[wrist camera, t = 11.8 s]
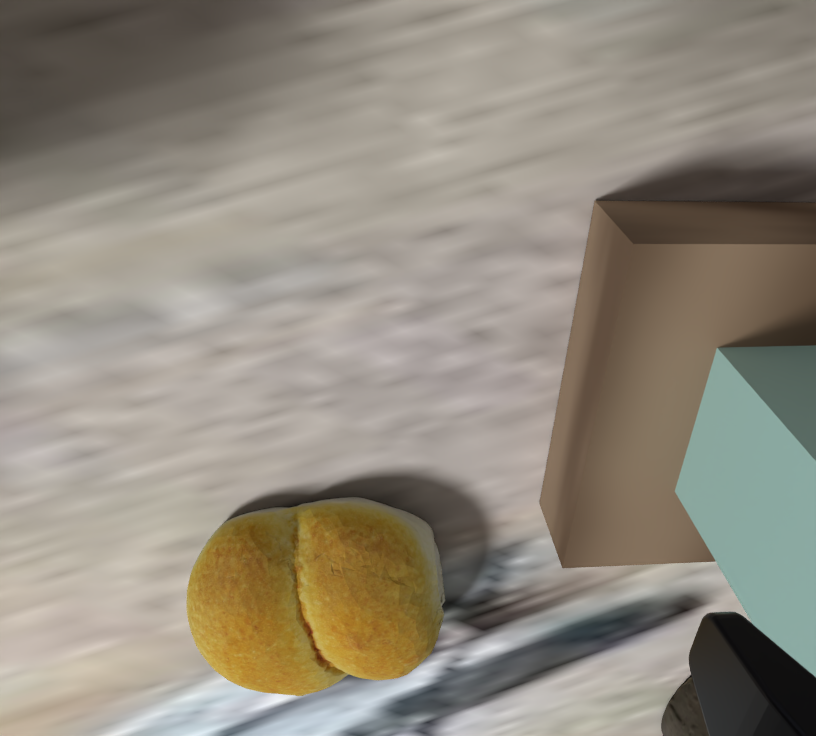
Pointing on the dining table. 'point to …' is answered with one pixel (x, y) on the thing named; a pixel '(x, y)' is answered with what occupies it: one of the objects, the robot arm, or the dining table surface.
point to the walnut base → (662, 361)
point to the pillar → (760, 486)
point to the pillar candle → (684, 713)
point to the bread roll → (317, 595)
